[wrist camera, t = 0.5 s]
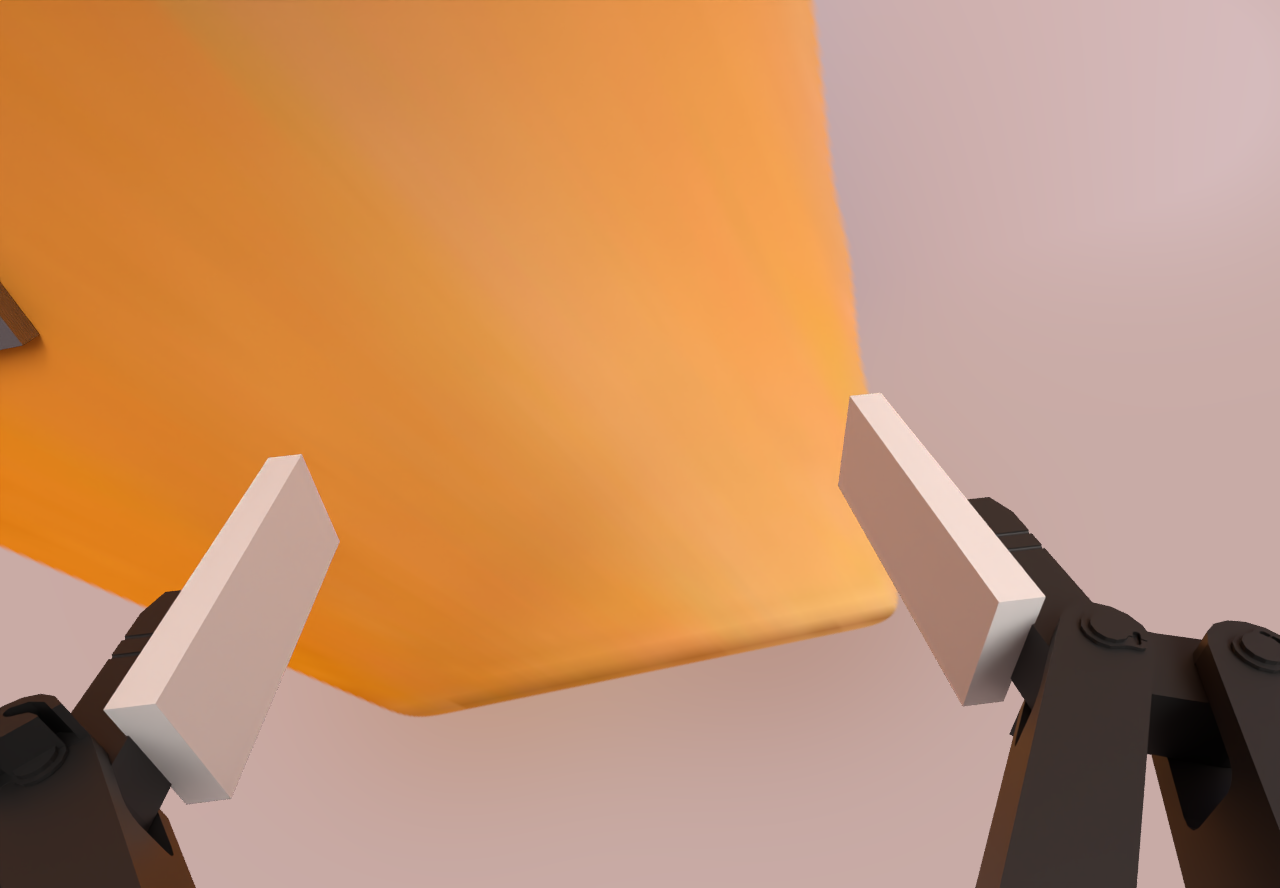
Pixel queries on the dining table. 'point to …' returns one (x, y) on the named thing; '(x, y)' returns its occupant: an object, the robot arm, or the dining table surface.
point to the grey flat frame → (13, 323)
